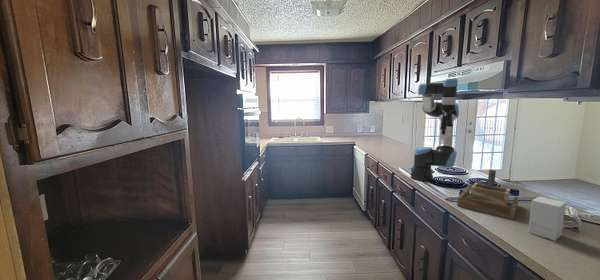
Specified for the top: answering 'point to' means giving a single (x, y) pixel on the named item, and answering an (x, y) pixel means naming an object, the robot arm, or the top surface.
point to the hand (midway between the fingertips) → (445, 138)
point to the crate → (490, 191)
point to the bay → (487, 205)
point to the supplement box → (547, 217)
